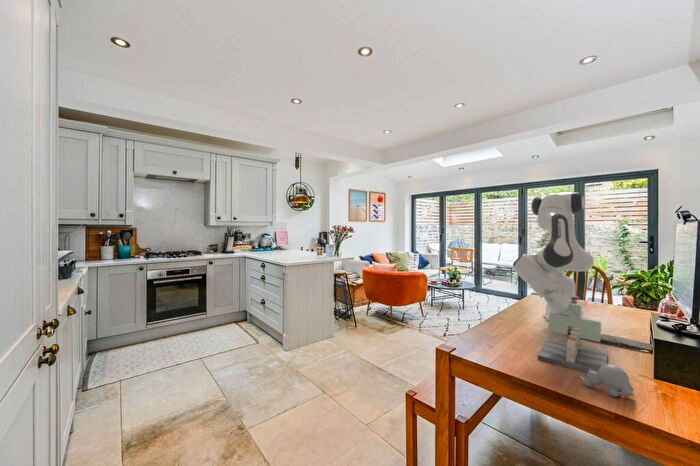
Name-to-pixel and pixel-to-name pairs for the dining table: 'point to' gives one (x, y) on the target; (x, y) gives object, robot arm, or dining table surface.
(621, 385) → the chubby cartoon animal
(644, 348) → the stone slab
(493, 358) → the dining table surface
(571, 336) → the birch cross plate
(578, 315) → the sage slotted plate
